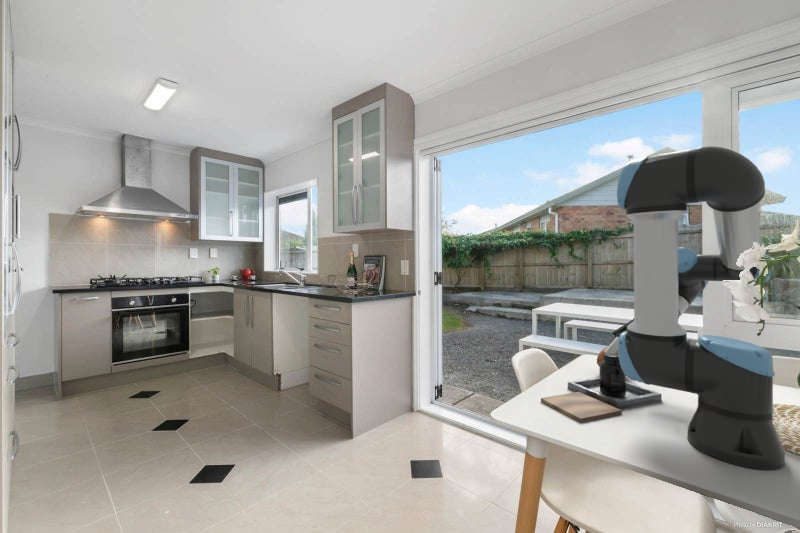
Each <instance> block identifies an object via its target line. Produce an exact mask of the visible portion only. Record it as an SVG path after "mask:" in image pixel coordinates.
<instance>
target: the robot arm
mask: <svg viewBox="0 0 800 533" xmlns="http://www.w3.org/2000/svg"><path fill="white" fill-rule="evenodd" d="M617 181H618V183H617V189H616V199H617V205H618V206H617V207H619V209H621V210H624V211H626V213H625V217H627V219H629V220H630V221H632V223H633V301H634V302H633V304H634V305H633V308H634V310H633V311H634V312H633V314H634V315H633V316H634V317H633V318H632V319H631V320H629V321H628V322H626V323H624V324H623V325H622V326H619V328H617V329H615V330H614V331H613V332H612V335H613V336H614V338H613V340H612V341H611V342H610V343H609V346H607V347H608V348H607V349H606V350H605V351H604V352H605V353H615V352H616V351H617V350H618V356H619V361H620V365H621V368H622V371H623V372H624V374H625V375H626V378H628V379H629V380H632V381H635V382H639V383H643V384H645V385H647V386H649V385H652V386H656V387H661V388H666V389H671V390H676V391H680V392H687V393H691V394H695V395H697V408H696V409H695V411H694V414H693V417H692V418H691V421H690V422H689V424H688V428H687V441H688V442H689V444H691V445H692V446H693V447H694V448H695V449H697V450H698V451H700V452H702V453H704V454H706V455H708V456H710V457H713V458H715V459H717V460H721V461H722V462H723V461H724V462H725V463H729V464H732V465H736V466H741V467H744V468H750V469H758V470H779V469H782V468H783V467H784V466H785V464H786V462H785V461H786V455H785V450H784V449H785V448H784V447H783V445H782V441H781V440H780V437H779V435H778V432H777V429H776V428H775V425H774V421H773V420H774V418H773V415H774V414H773V413H774V401H773V400H774V380H773V379H774V377H775V376H776V372H775V370H774V358H773V355H772V354H771V353H770V351H768V350H767V349H766V348H764V347H762V346H759V345H758V344H754V343H751V342H749V341H745V340H741V339H735V338H733V337H732V338H730V337H728V336H727V337H726V336H721V335H712V334H701V335H700V336H698V337H697V340H692V339H688V336H687V335H688V334H687V330H686V329H685V328H683V327H682V325H681V324H679V319H680V317H681V316H682V315H683V314H684V312H685V311H686V310H687V309H688V308H689V307H690V306H691V304H692V303H693V302H694V301H695V300H696V299H697V297H699V295H700V294H701V293H702V292H703V291H704V290H705V289H706V286H707V285H708V283H709V282H724V281H723V280H740V277H739V274H740V272H741V271H743V270H744V269H745V268H744V266H741V267H739V266H737V265H736V262H737V259H738V258H739V256H740V254H741V253H743V252H744V251H745V250H748V249H750V248H752V246H753V242H757V243H758V244H759V245H760V219H759V218H760V217H759V214H760V213H759V212H760V211H759V203H760V202H762V200H763V199H764V197H765V194H766V183H765V179H764V176H763V174H762V172H761V170H760V169H759V168H758V167H757V165H756V164H754V162H753V161H751V160H750V159H749V158H748V157H746V156H745V155H743V154H741V153H739V152H738V151H735V150H732V149H729V148H725V147H721V146H711V145H710V146H702V147H701V146H700V147H697V148H693V149H692V148H691V149H685V150H679V151H674V152H666V153H660V154H654V155H649V156H648V155H646V156H645V157H641V158H638V159H633V160H630V161H628V162H627V163H626V164H625V165H624V166H623V168H622V169H621V171H620V175H619V177H618V180H617ZM703 202H704V203H706V205H707V206H708V207H709V208H710V209H711V210H712V211H713V219H714V226H715V231H716V239H717V244H718V245H717V246H718V251H719V253H718V254H697V253H696V251H694V250H693V249H691V248H688V247H683V246H682V247H680V246H679V221H680V219H681V218H682V217H684V215H685V214H687V212H688V204H694V203H695V204H696V203H703ZM752 249H754V246H753V248H752ZM763 256H764V257H768V258H770V259H771V256H770V255H769V254H766V253H765V255H763ZM759 271H760V270H759V269H757V268H756V267H753V268H751V269H750V272H751V273H752V274H753V275H754V279H756V278H757V277H758V276H759ZM770 279H771V268H770V269H769V272H768V274H766V282H769V280H770Z"/></svg>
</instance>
